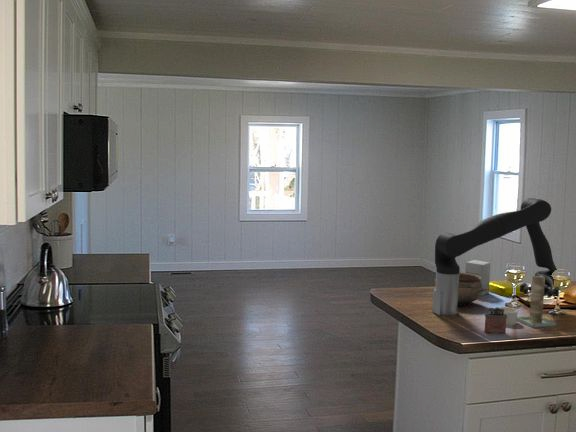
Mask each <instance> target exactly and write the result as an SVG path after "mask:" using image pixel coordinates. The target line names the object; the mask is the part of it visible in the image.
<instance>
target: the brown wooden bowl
mask: <svg viewBox="0 0 576 432" xmlns="http://www.w3.org/2000/svg"><path fill="white" fill-rule="evenodd" d="M480 279H481V277H480V276H478V275H475V274H470V273H465V272H460V273H459V289H458V306H466V305H469V304H471V303H473V302H475V301H477V300H478V299H479V298H480V297H482V296H481V294H482V292H483V291H486V290H488V289H487V288H485V289H483V288H482V284H481V281H480ZM433 282H434V283H436V278H435V279H434V280H433Z"/></svg>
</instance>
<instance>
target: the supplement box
mask: <svg viewBox="0 0 576 432" xmlns="http://www.w3.org/2000/svg"><path fill="white" fill-rule="evenodd" d="M464 269H465V270H464V273H470V274H475V275H478V276H480V277H481V279H480V281H481V284H482V288H483V289H485V288H487V289H488V290H486V291H483V292H482V294H481V296H480V297H483V296H485V295H488V294H489V293H490V292H489V281H491V280H490V278H491V277H490V276H491V262H489V261H483V260H478V259H472V260H470V261H465V268H464Z"/></svg>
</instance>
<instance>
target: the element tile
mask: <svg viewBox="0 0 576 432" xmlns="http://www.w3.org/2000/svg"><path fill="white" fill-rule="evenodd" d="M507 280H508V279H506V280H505V279H504V280H492V281H491V280H490V281H489V293H492V294H495V295H498V296H502V297H506V298H507V297H513V296H512V294H513V284H512V283H510V282H508V281H507ZM521 284H522V283H520V284H519V285H517V286H516V295H522V296H525V295H524V294H525V293H523V292H520V285H521ZM527 294H528V295H529V293H527Z"/></svg>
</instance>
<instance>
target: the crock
mask: <svg viewBox="0 0 576 432" xmlns="http://www.w3.org/2000/svg"><path fill="white" fill-rule="evenodd" d="M498 308H499V309H504V313H503V314H506V315H507V318H506V326H513V325H517V324H518V321H517V317H518V312H519V310H518V309H515V308H513V307H506V306H498Z"/></svg>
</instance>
